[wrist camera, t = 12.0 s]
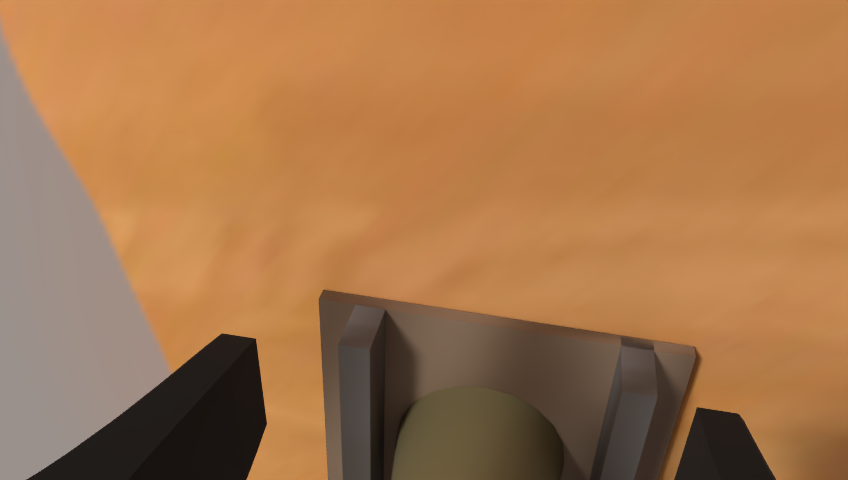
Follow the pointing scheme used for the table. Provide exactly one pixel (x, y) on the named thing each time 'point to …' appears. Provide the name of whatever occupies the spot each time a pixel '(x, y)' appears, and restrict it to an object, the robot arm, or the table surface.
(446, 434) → the olive rounded tapered post
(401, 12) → the table surface
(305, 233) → the table surface
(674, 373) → the shaker socket
